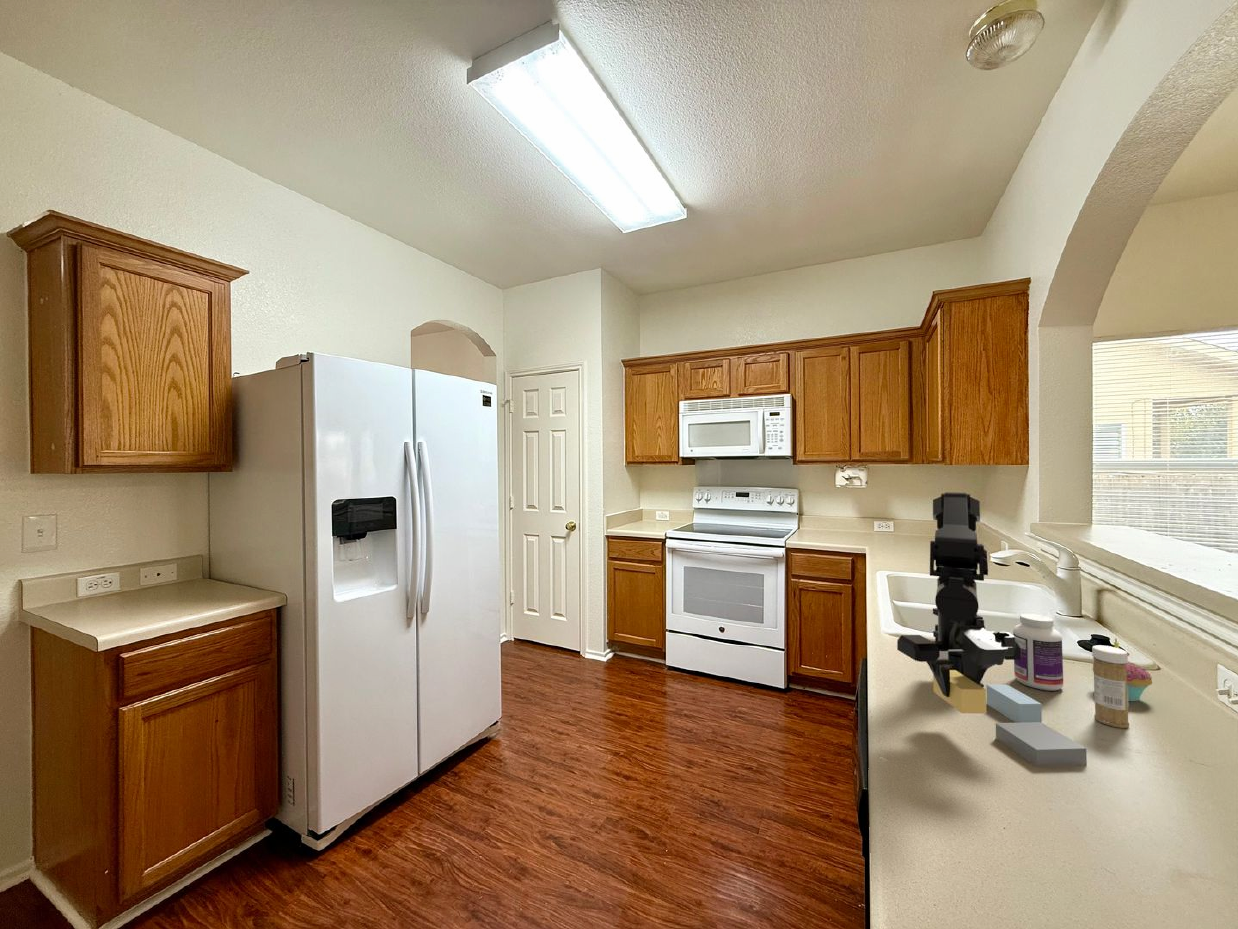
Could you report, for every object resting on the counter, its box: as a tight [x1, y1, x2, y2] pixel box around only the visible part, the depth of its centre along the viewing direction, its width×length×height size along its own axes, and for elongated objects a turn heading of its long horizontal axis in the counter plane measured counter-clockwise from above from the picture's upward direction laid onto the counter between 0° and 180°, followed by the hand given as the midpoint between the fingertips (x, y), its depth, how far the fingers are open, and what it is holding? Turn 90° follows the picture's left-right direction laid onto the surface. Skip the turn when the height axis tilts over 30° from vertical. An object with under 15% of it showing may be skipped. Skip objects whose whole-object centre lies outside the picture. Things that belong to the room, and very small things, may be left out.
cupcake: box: [1092, 638, 1153, 702], centre depth 100 cm, size 9×8×12 cm
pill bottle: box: [1012, 613, 1064, 692], centre depth 105 cm, size 8×8×14 cm
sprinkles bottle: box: [1091, 644, 1130, 729], centre depth 89 cm, size 5×5×14 cm
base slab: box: [995, 722, 1088, 768], centre depth 80 cm, size 8×8×3 cm
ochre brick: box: [932, 670, 987, 715], centre depth 86 cm, size 8×4×4 cm, turn 177°
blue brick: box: [985, 684, 1043, 723], centre depth 93 cm, size 8×4×4 cm, turn 0°
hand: (958, 695), depth 86 cm, fingers closed on ochre brick, 4 cm apart
